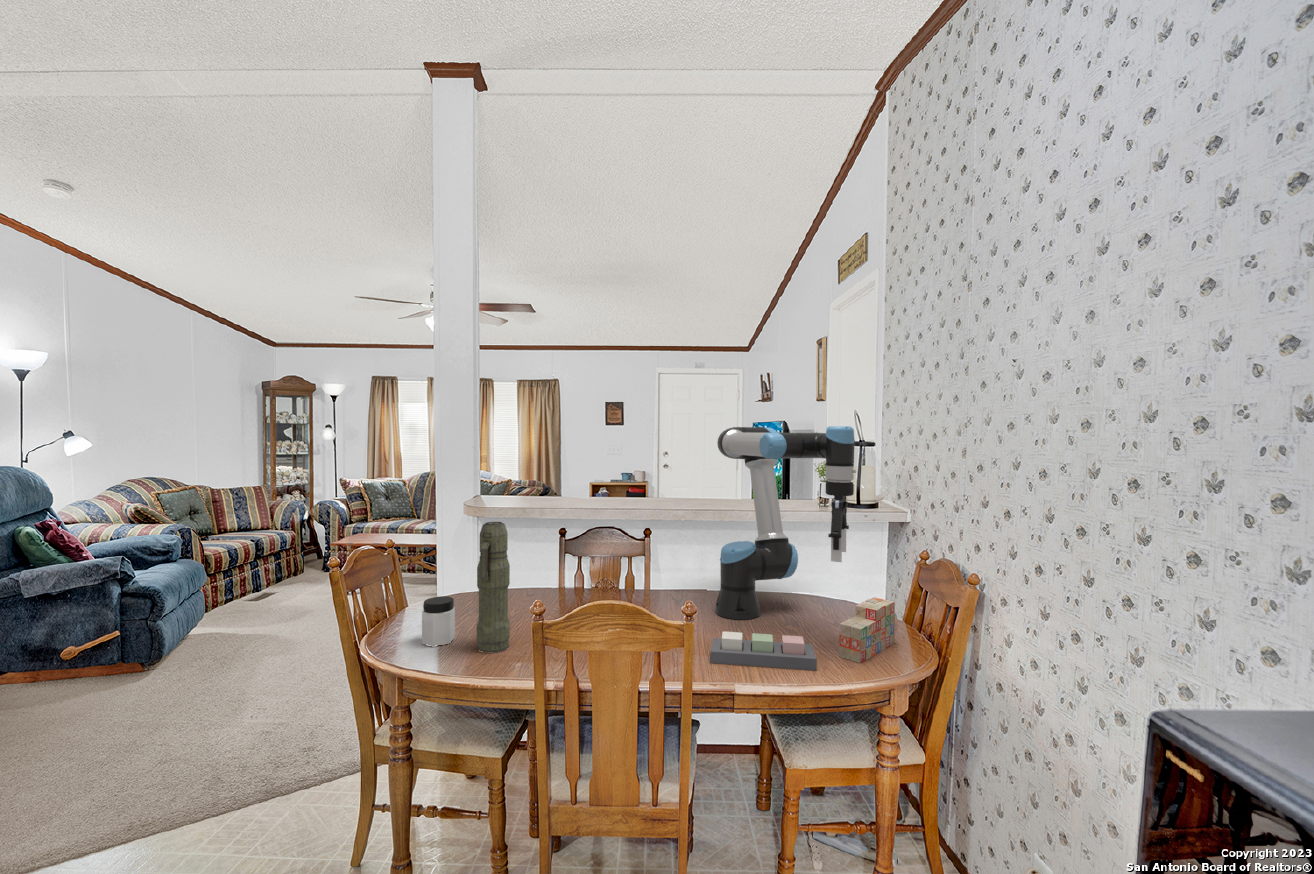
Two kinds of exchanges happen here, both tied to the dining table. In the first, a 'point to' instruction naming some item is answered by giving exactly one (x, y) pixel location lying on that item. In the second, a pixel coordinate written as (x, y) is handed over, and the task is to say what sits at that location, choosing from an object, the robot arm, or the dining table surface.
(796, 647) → the rose button
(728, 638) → the white button
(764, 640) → the sage button
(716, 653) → the button panel
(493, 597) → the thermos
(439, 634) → the jar
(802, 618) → the dining table surface
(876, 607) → the stack of blocks
